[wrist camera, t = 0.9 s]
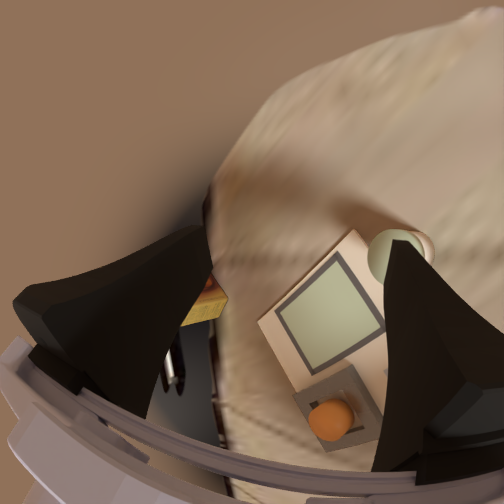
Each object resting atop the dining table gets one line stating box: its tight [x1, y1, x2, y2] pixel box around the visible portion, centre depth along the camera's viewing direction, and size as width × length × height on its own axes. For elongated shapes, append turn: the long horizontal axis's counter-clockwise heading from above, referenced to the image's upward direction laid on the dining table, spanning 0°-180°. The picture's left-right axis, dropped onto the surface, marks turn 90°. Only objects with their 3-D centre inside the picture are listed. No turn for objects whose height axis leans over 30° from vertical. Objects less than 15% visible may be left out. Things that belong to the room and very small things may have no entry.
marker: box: [367, 229, 435, 285], centre depth 17 cm, size 3×3×6 cm
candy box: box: [99, 266, 228, 326], centre depth 35 cm, size 9×4×15 cm, turn 54°
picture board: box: [257, 229, 388, 429], centre depth 23 cm, size 18×16×1 cm
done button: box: [309, 398, 354, 441], centre depth 22 cm, size 4×4×2 cm
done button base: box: [292, 364, 383, 452], centre depth 23 cm, size 8×8×1 cm
